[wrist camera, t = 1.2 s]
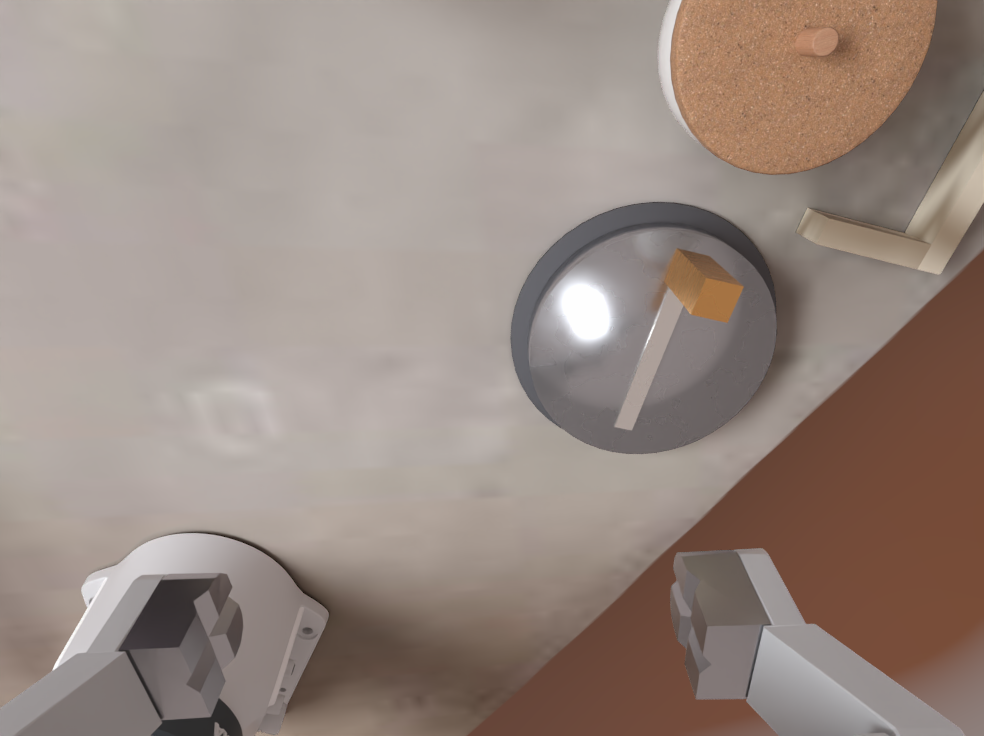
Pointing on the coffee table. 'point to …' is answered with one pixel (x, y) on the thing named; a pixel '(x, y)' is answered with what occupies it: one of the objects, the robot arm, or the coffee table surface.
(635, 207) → the base
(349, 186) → the coffee table surface
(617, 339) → the turntable
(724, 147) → the lidded jar
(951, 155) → the cream u-shaped bracket
